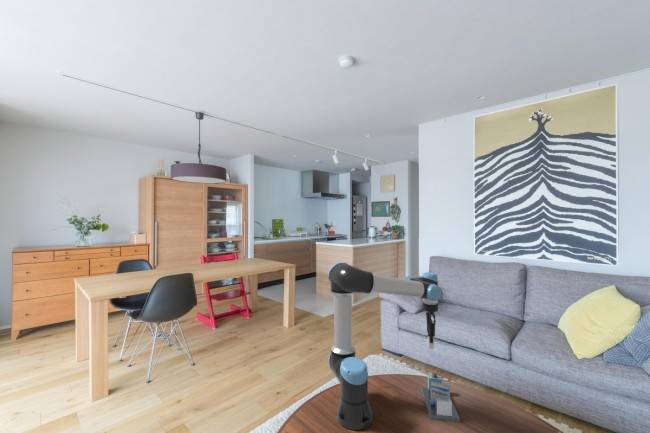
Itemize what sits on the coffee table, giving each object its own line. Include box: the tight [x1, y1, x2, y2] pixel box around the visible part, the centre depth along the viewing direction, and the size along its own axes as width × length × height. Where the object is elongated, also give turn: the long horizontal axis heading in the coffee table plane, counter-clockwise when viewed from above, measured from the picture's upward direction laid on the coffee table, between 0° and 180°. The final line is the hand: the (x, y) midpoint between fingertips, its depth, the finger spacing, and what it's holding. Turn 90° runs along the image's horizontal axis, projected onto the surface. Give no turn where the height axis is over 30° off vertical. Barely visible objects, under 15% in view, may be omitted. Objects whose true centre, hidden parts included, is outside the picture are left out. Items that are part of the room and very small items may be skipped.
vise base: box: [421, 387, 461, 423], centre depth 133 cm, size 12×21×8 cm, turn 170°
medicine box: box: [431, 381, 451, 406], centre depth 131 cm, size 8×4×9 cm, turn 63°
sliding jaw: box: [427, 372, 443, 391], centre depth 143 cm, size 6×3×8 cm, turn 81°
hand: (431, 347), depth 151 cm, fingers closed
